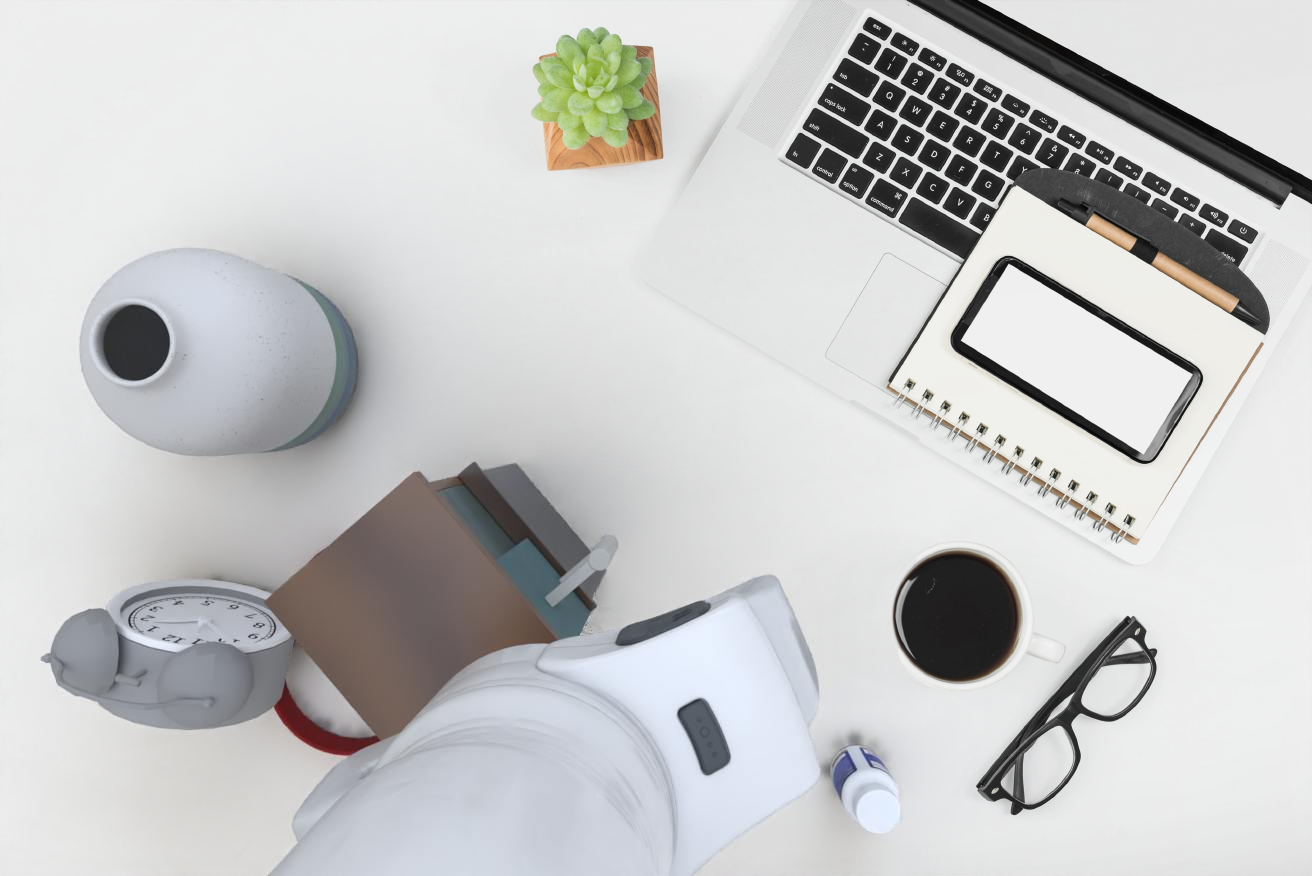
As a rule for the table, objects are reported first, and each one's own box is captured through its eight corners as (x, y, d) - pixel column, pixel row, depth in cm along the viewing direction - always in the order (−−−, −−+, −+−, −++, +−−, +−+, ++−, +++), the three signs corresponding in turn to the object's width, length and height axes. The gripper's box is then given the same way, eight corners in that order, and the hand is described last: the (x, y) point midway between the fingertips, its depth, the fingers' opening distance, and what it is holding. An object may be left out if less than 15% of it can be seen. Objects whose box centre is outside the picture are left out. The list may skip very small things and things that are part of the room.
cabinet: (530, 634, 82) (420, 788, 47) (440, 527, 83) (262, 602, 48) (619, 559, 82) (573, 658, 47) (527, 452, 82) (414, 471, 47)
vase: (375, 283, 82) (249, 224, 58) (372, 452, 83) (246, 463, 59) (208, 280, 83) (15, 221, 59) (206, 449, 83) (13, 458, 59)
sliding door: (583, 619, 60) (559, 666, 48) (519, 544, 60) (479, 572, 48) (643, 568, 60) (634, 603, 48) (579, 492, 60) (554, 509, 48)
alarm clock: (339, 605, 83) (215, 670, 61) (317, 688, 83) (186, 782, 61) (183, 562, 83) (5, 611, 61) (162, 644, 84) (-24, 722, 62)
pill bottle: (837, 802, 82) (856, 848, 73) (823, 751, 82) (840, 791, 73) (889, 789, 82) (915, 833, 73) (875, 737, 82) (899, 775, 73)
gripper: (274, 1015, 26) (415, 814, 40) (870, 762, 26) (804, 646, 39) (195, 833, 26) (362, 694, 40) (787, 575, 26) (750, 525, 39)
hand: (584, 669), depth 40 cm, fingers open, 8 cm apart
